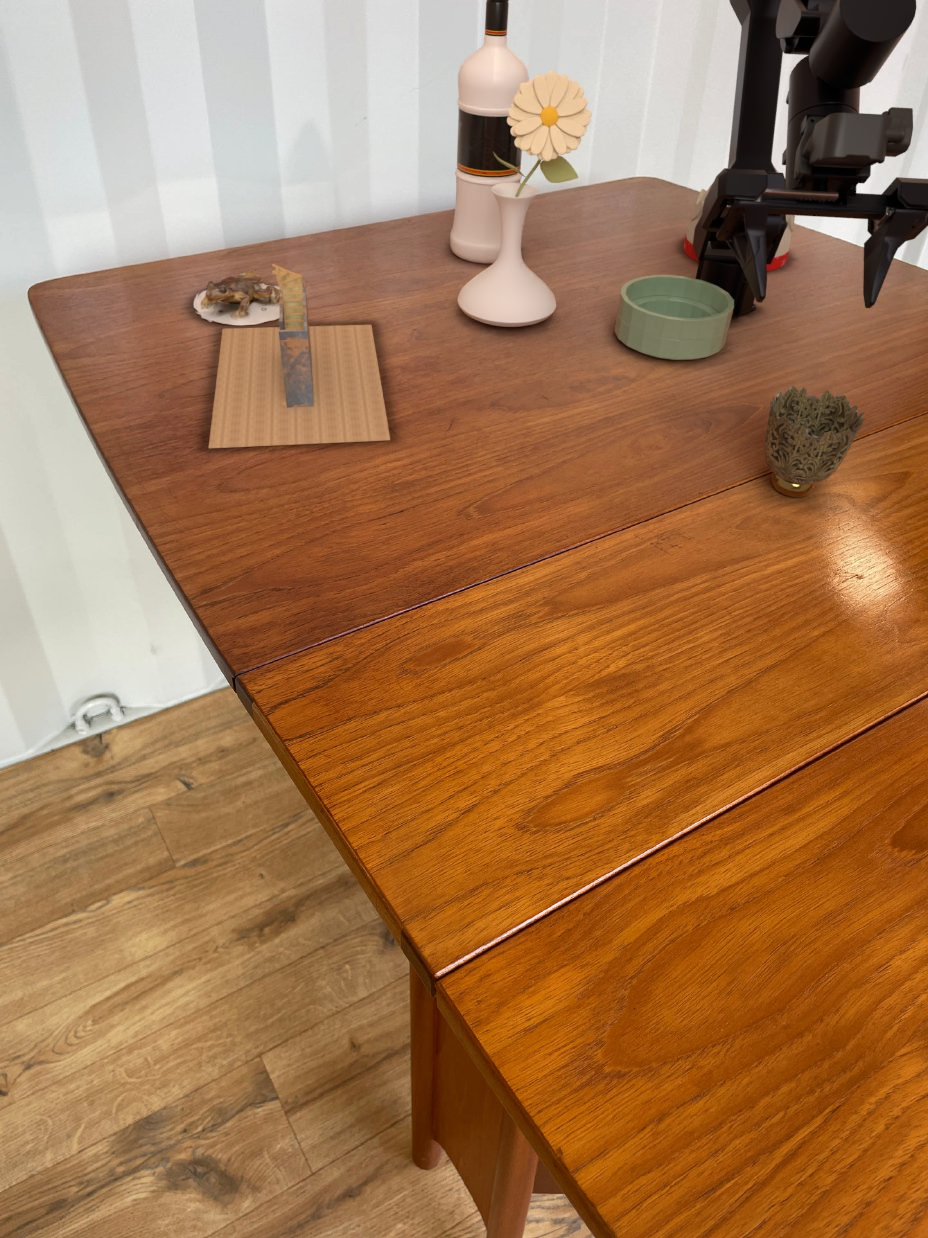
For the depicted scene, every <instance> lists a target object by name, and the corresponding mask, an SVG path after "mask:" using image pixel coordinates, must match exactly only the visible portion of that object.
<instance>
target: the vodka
mask: <svg viewBox="0 0 928 1238" xmlns="http://www.w3.org/2000/svg"><path fill="white" fill-rule="evenodd" d="M509 1H510V0H486V2H485V20H484V21H485V22H484V36H483V44H482V46H481V47H479V48H478V49H477V50H476V51H475V52H473V53H472V54H471V55H470V56H468V57H467V58H466V59H464V61H463V62H462V64H461V65H460V67H459V70H458V73H457V90H458V91H457V92H458V98H457V100H456V101H457V102H456V103H457V106H458V111H457V113H458V115H457V145H456V146H457V147H456V150H457V151H456V169H455V171H454V174H455V192H456V193H455V205H454V206H455V207H454V216H453V221H452V227H451V230H450V234H449V246H450V250H451V251H452V253H453V254H454V255H456V256H457V257H459V258H460V259H461V260H463V261H467V262H470V263H474V264H483V265H484V264H486V265H492V264H493V263H494V262H495V261H496V260H497V258H498V256H499V252H500V247H501V231H502V229H501V215H500V209H499V205H498V202H497V200H496V198H495V196H494V194H493V193H492V191H491V188H492V187H493V186H494V185H497V184H500V183H521V181H522V177H523V176H522V175H521V174H519V173H518V172H516V171H514V170H513V169H511V168H509V167H507V166H505V165H504V164H502V163H501V162H499V161H498V160H497V159H496V157H495V155H496V156H497V157H498V158H500V159H501V160H503V161H504V162H507V163H509V164H511V165H513V166H514V167H516V168H517V169H518V170H519V171H520V172H521V173H522V171H521V169H522V157H523V156H522V155H523V151H522V150H521V149H520V148H518V147H516V146H515V143H514V141H515V139H516V137H515V136H513V135H512V134H511V132H510V131H511V128H512V127H513V126H510V125H509V124H508V123H507V118H508V117H509V114H508V112H509V109H510V108H512V107H511V104H512V102H513V101H514V97H515V95H517V91H518V90H519V87H520V84H521V83H523V82H525V83H527V82H528V81H530V76H529V72H528V69H527V67H526V65H525V63H524V62H523V60H522V59H520V58H519V57H518V56H517V55H516V54H515V53H514V51H512V50H511V49H510V48H509V47H508V45H507V43H508V38H507V37H508V22H509V5H510V3H509ZM493 152H494V153H495V155H494V153H493Z"/></svg>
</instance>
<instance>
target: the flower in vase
mask: <svg viewBox="0 0 928 1238" xmlns="http://www.w3.org/2000/svg"><path fill="white" fill-rule="evenodd" d="M584 95H585V89H584V88H583V87H582V86H581V85H580V83H579V82H577V81H573V80H571V79H570V78H569V76H568V75H566V74H562V75H561V74H559V73H557V72H556V71H555V70H550V71H548V72H547V73H546V74H536V75H535V76H534V78H533V80H530V79H529V81H528V82H527V83H525V82H523V83H521V84H520V87H519V90H518V91H517V95H515V97H514V101H513V102H512V104H511V107H512V108H510V109H509V112H508V114H509V117H508V118H507V123H508V124H509V125H510V126H513V127H512V128H511V131H510V132H511V134H512V135H513V136H515V137H516V139H515V141H514V143H515V146H516V147H518V148H520V149H521V150H522V152H526V153H527V155H528V156H536V157H537V161H536V163H535V164H534V165H533V167H532V168H531V169H530V171H529V172H528V173H527V175H526V176H525V174H524V173H522V171H521V170H520V171H521V172H520V171H519V170H518V169H517V168H516V167H514V166H513V165H511V164H509V163H507V162H504V161H503V160H501V159H500V158H498V157H497V156H496V155H495V153H494V152H493V153H494V155H495V157H496V159H497V160H498V161H499V162H501V163H502V164H504V165H505V166H507V167H509V168H511V169H513V170H514V171H516V172H518V173H519V174H521V175H522V177H524V179H523V181H522V182H520V183H500V184H497V185H494V186H493V187H492V188H491V191H492V193H493V194H494V196H495V198H496V200H497V202H498V205H499V209H500V215H501V229H502V231H501V247H500V252H499V256H498V258H497V260H496V261H495V262H494V263H493V264H490V265H489V266H488V267H487V268H485V269H484V270H482V271H480V272H479V273H477V274H476V275H474V277H473V278H471V279H470V280H468V281H467V282H466V283H465V284H464V285H463V287H461V289H460V291H459V293H458V296H457V304H458V306H459V308H460V309H461V311H462V312H463V313H464V314H465V315H466V316H468V317H469V318H470V319H473V320H475V321H477V322H480V323H483V324H485V325H490V326H495V327H504V328H518V327H526V326H527V327H528V326H532V325H536V324H538V323H542V322H543V321H546V320H547V319H548V318H550V317H551V315H552V314H553V313H554V312H555V310H556V309H557V301H556V297H555V294H554V292H553V291H552V290H551V289H550V287H549V286H548V284H546V283H545V282H544V281H543V280H542V278H540V277H539V276H538V275H537V274H536V273H535V272H534V271H532V270H531V269H530V268H529V266H527V265H526V263H525V262H524V260H523V257H522V238H523V231H524V225H525V220H526V217H527V212H528V210H529V207H530V206H531V204H532V202H533V201H534V199H535V198H536V197H537V196H538V194H539V190H538V188H536V186H533V185H531V184H526V183H527V182H528V181H529V179H530V178H531V177H532V175H533V174H534V173H535V171H536V170H537V168H538V167H539V169H540V172H541V173H542V175H543V176H544V177H545V179H546V181H548V182H549V183H552V184H561V183H565V182H570V181H573V180H577V179H579V175H578V173H577V172H576V170H575V169H574V167H573V166H572V164H571V163H570V162H569V161H568V160H567V159H566V158H565V157H563V156H564V155H568V154H570V153H571V152H572V151H577V150H578V149H579V146H580V145H581V143H582V137H584V136H585V134H586V133H587V130H588V128H587V126H589V125H590V123H591V117H592V111H591V110H590V109H588V108H587V106H588V103H589V102H588V99H587V98H585V97H584Z"/></svg>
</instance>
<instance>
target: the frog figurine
mask: <svg viewBox="0 0 928 1238" xmlns="http://www.w3.org/2000/svg"><path fill="white" fill-rule="evenodd" d="M206 287H207V288H204V289H203V290H201V292H198V293H196V294H195V297H194V300H193V308H194V309H195V313H196V314H198V315H199V316H200V318H201V319H203V320H206V321H208V322H209V323H213V322H215V323H219V324H223V325H229V326H251V325H260V324H264V323H266V322H272V321H276V320H279V310H280V297H279V292H280V287H279V284H274V285H270V284H269V285H268V284H265V283H264V279H263V277H262V276H261V275H260V274H258V273H256V272H255V270H252V269H250V270H248V271H246V272H242V273H240V274H238V275H237V276H236V277H235V276H231V275H230V276H227V277H225V278H223V279H221V281H218V282H213V280H209V281H208V282H207V285H206Z"/></svg>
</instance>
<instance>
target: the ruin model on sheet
mask: <svg viewBox="0 0 928 1238" xmlns="http://www.w3.org/2000/svg"><path fill="white" fill-rule="evenodd" d="M272 268H275V269H274V270H271V272H272V273H271V274H272V275H275V277H276V278H275V279H276V282H277V285H279V287H280V292H279V297H280V310H279V319H278V326H271V327H270V326H268V327H235V328H230V327H229V328H222V329H221V339H220V348H219V355H218V366H217V373H216V383H215V390H214V399H213V407H212V416H211V425H210V432H209V439H208V449H224V448H225V449H227V448H228V449H229V448H247V447H271V446H292V445H294V446H295V445H314V444H315V445H316V444H332V443H333V444H335V443H358V442H360V443H361V442H378V441H379V442H382V441H384V442H385V441H391V436H390V435H391V434H390V429H389V423H388V418H387V411H386V406H385V399H384V393H383V387H382V382H381V374H380V370H379V363H378V356H377V351H376V350H377V349H376V345H375V339H374V333H373V332H374V331H373V327H372V324H345V325H343V324H341V325H310V322H309V321H310V320H309V309H308V297H307V286H306V285H307V284H306V281H303V274H301V273H297V272H294V271H291V270H289V269H287V268H285V267H282V266H280V265H277V264H275V263H272Z"/></svg>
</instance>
